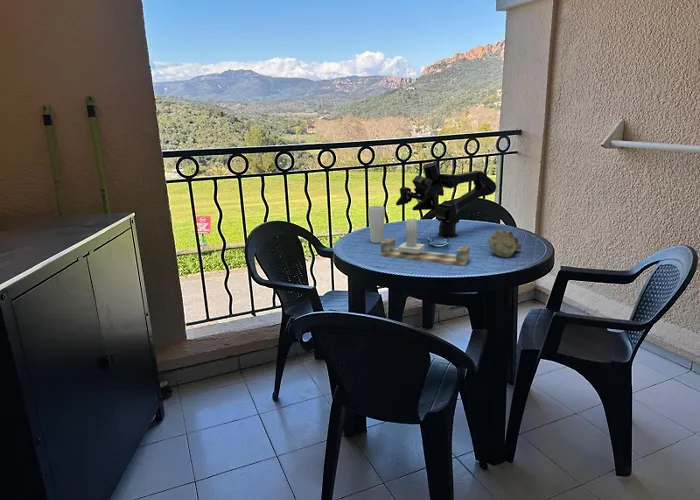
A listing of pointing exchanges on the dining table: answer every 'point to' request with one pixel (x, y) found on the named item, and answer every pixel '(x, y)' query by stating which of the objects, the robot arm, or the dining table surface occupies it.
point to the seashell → (503, 243)
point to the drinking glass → (376, 223)
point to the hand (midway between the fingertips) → (404, 206)
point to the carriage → (411, 238)
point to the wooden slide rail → (425, 254)
